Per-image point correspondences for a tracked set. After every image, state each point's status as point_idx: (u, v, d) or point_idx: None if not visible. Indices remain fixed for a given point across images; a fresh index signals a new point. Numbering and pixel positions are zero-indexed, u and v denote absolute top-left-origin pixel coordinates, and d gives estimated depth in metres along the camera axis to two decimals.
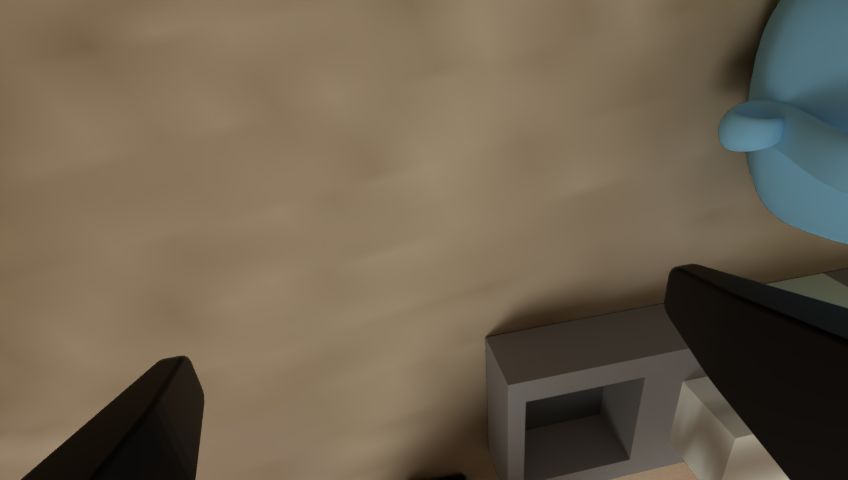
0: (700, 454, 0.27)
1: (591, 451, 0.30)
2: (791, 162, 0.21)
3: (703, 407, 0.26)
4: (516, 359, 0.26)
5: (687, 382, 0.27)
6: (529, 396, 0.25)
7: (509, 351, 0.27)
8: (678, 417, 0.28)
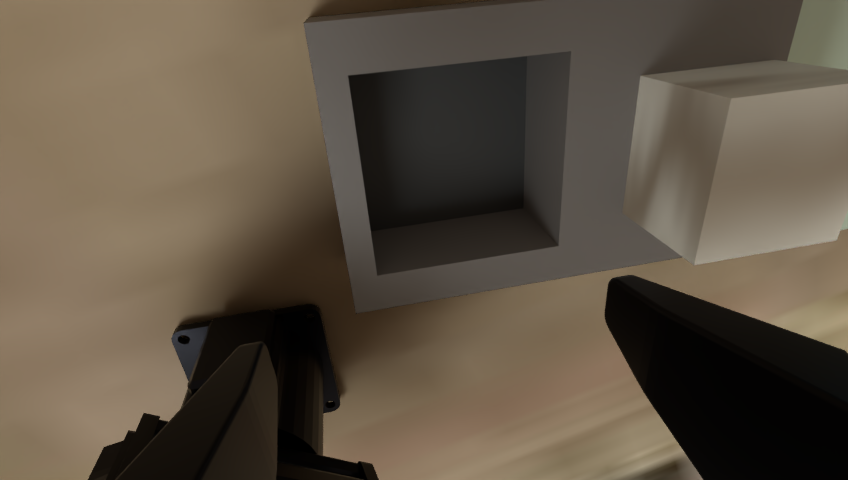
0: (669, 193, 0.15)
1: (500, 241, 0.19)
2: None
3: (674, 91, 0.14)
4: (341, 17, 0.15)
5: (648, 75, 0.16)
6: (352, 61, 0.14)
7: None
8: (635, 154, 0.17)
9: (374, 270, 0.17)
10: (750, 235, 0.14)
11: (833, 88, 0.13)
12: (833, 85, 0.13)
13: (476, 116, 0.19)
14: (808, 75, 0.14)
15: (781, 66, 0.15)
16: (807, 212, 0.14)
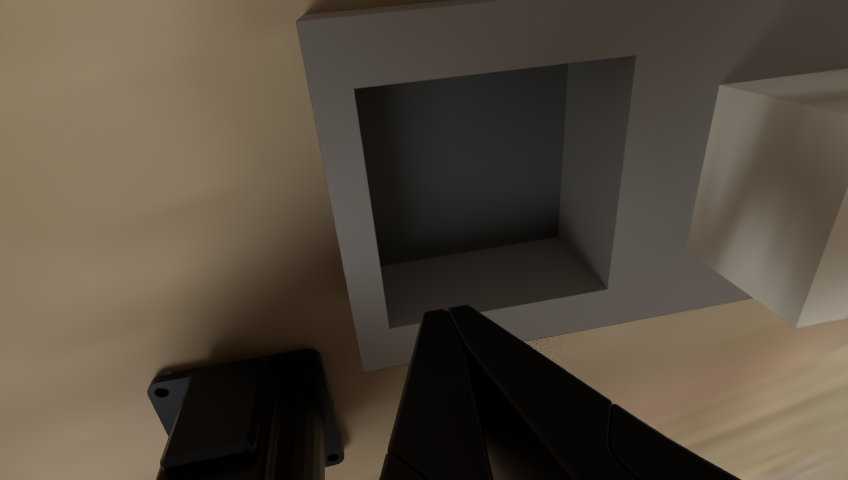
0: (759, 234, 0.12)
1: (535, 281, 0.16)
2: None
3: (773, 107, 0.11)
4: (344, 13, 0.12)
5: (730, 85, 0.12)
6: (359, 70, 0.11)
7: None
8: (707, 181, 0.13)
9: (386, 322, 0.14)
10: None
11: None
12: None
13: (506, 131, 0.16)
14: None
15: None
16: None
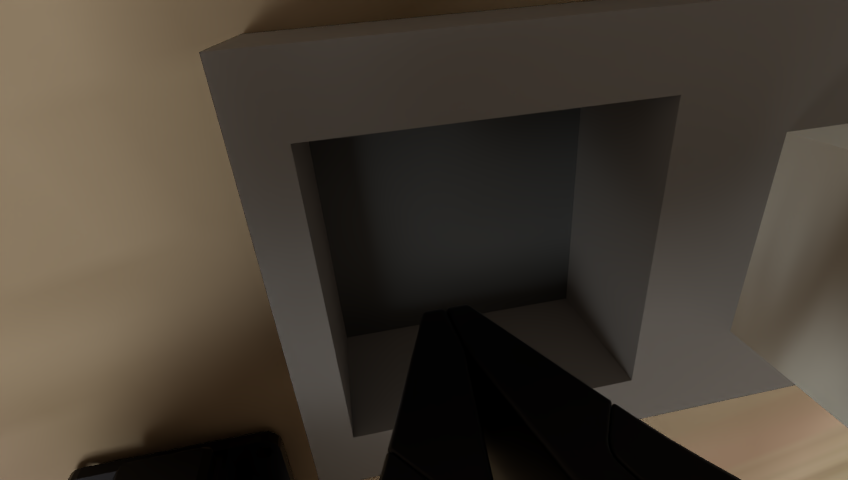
0: (846, 336, 0.09)
1: None
2: None
3: None
4: (284, 36, 0.09)
5: (801, 132, 0.09)
6: (297, 119, 0.08)
7: None
8: (765, 253, 0.10)
9: (348, 431, 0.11)
10: None
11: None
12: None
13: (504, 178, 0.13)
14: None
15: None
16: None
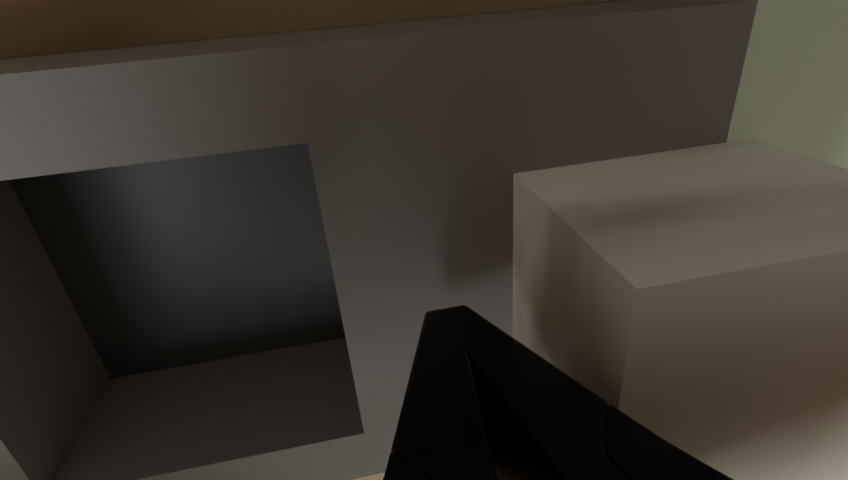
0: None
1: (282, 413, 0.12)
2: None
3: (553, 223, 0.07)
4: None
5: (526, 174, 0.09)
6: None
7: None
8: (517, 297, 0.10)
9: None
10: None
11: None
12: None
13: (249, 214, 0.12)
14: (812, 198, 0.07)
15: (762, 160, 0.08)
16: (812, 449, 0.08)
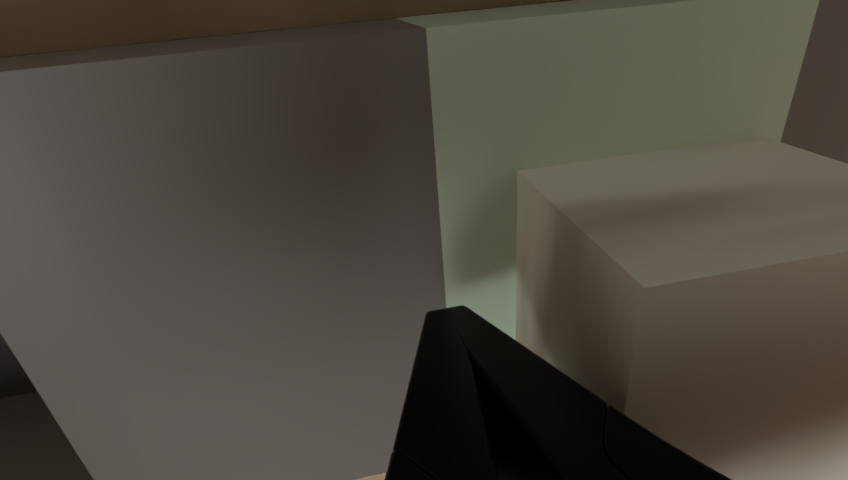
0: None
1: (29, 462, 0.11)
2: None
3: (557, 221, 0.07)
4: None
5: (530, 171, 0.09)
6: None
7: None
8: (521, 296, 0.10)
9: None
10: None
11: None
12: None
13: None
14: (822, 196, 0.07)
15: (770, 157, 0.08)
16: (820, 451, 0.07)
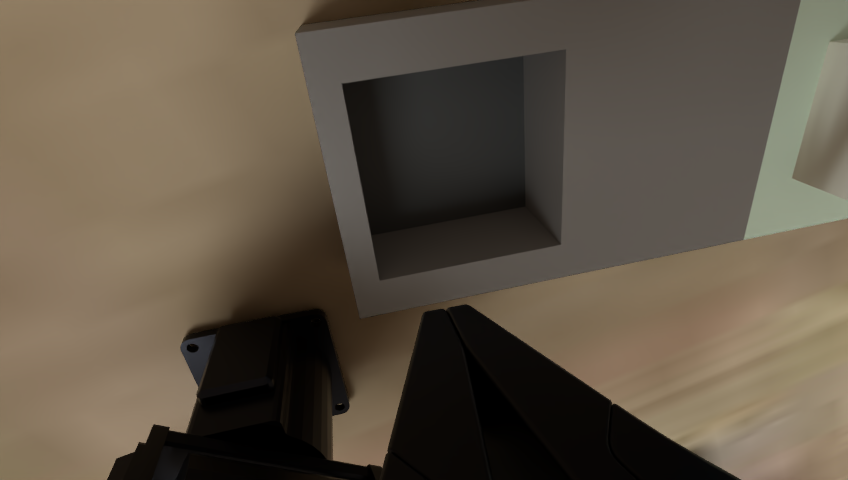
0: None
1: (502, 241, 0.19)
2: None
3: None
4: (333, 24, 0.15)
5: (838, 41, 0.16)
6: (345, 69, 0.14)
7: None
8: (815, 119, 0.17)
9: (376, 275, 0.17)
10: None
11: None
12: None
13: (474, 116, 0.19)
14: None
15: None
16: None
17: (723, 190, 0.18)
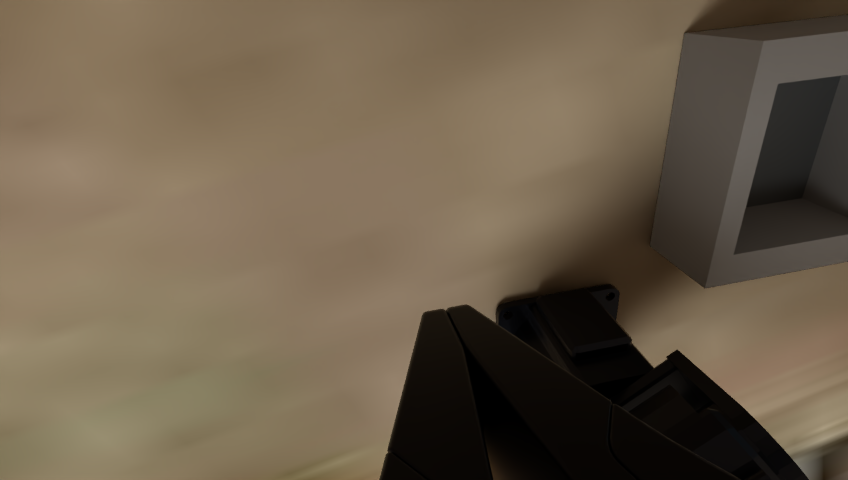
0: None
1: (814, 225, 0.22)
2: None
3: None
4: (752, 34, 0.18)
5: None
6: (785, 72, 0.17)
7: None
8: None
9: (733, 250, 0.20)
10: None
11: None
12: None
13: (790, 117, 0.22)
14: None
15: None
16: None
17: None
